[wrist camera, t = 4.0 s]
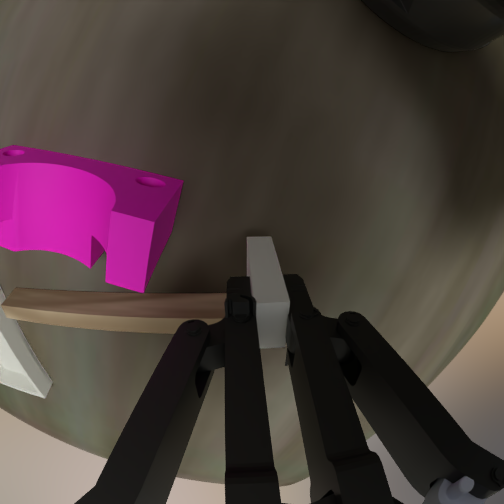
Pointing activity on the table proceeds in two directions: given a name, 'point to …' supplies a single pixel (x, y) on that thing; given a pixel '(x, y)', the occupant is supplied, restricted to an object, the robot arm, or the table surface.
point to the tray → (20, 359)
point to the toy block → (87, 211)
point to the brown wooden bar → (114, 309)
